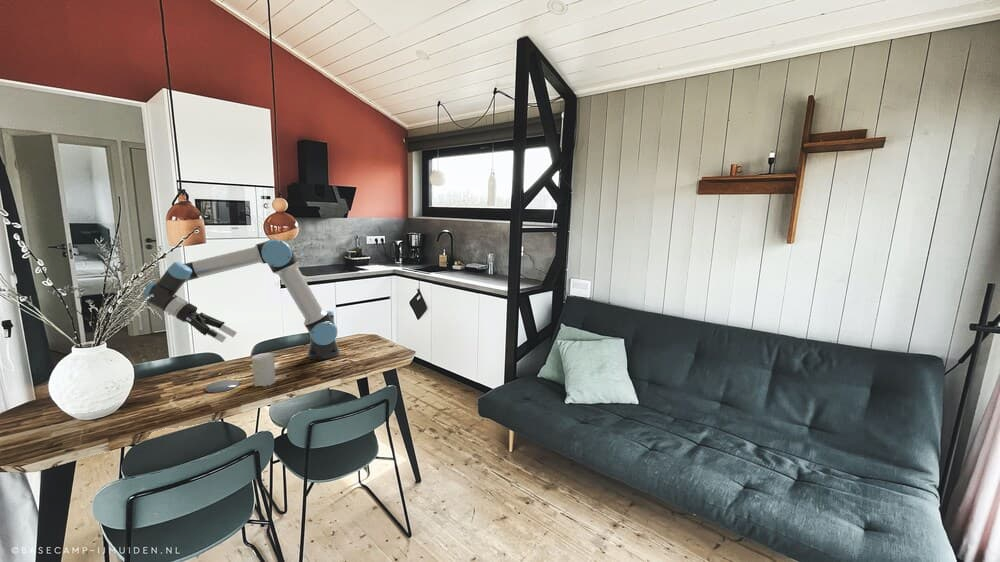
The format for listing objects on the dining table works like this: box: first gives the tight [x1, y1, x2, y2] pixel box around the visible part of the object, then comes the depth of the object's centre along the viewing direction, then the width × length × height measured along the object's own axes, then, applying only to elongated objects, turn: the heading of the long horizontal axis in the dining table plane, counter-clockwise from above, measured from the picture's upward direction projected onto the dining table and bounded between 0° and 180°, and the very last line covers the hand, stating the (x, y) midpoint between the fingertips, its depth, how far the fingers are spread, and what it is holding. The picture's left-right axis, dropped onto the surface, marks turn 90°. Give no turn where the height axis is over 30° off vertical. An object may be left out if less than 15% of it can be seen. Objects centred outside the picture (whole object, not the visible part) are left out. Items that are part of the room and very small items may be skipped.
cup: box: [251, 352, 277, 387], centre depth 181 cm, size 8×8×12 cm
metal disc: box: [204, 379, 240, 394], centre depth 177 cm, size 12×12×1 cm
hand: (230, 337), depth 180 cm, fingers open, 13 cm apart
